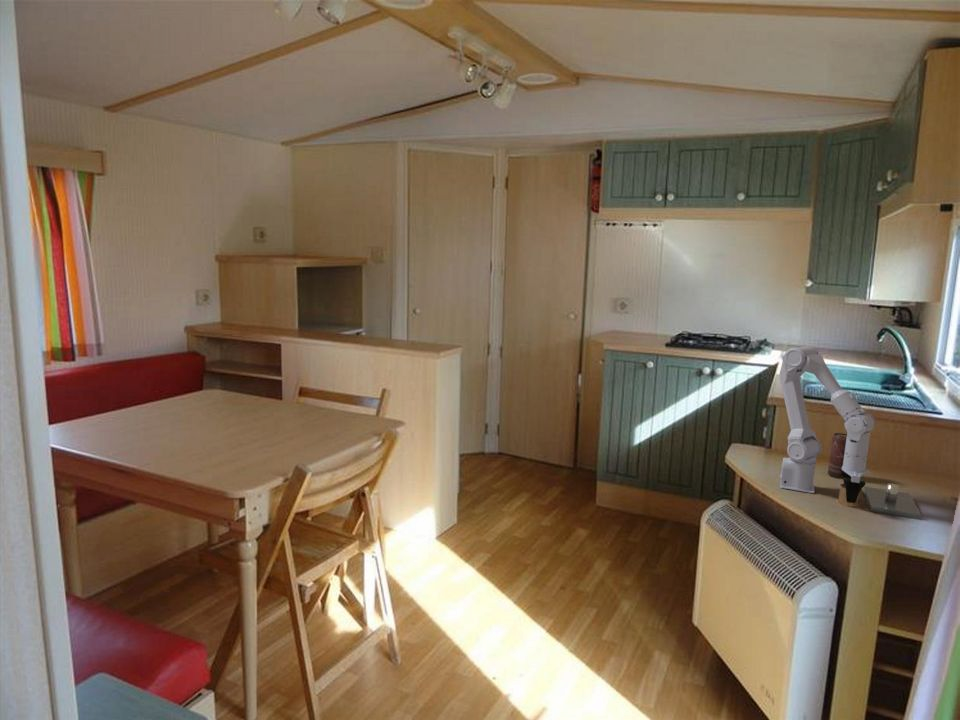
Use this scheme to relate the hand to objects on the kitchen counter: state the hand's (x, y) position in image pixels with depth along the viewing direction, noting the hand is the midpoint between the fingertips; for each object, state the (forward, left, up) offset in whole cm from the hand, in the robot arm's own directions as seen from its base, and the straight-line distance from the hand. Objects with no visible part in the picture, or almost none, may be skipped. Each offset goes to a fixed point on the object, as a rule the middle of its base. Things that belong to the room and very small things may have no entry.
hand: (849, 498), depth 190 cm
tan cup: (0, 0, -1) cm, 1 cm away
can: (-1, +26, -2) cm, 26 cm away
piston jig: (+11, +5, -1) cm, 12 cm away
